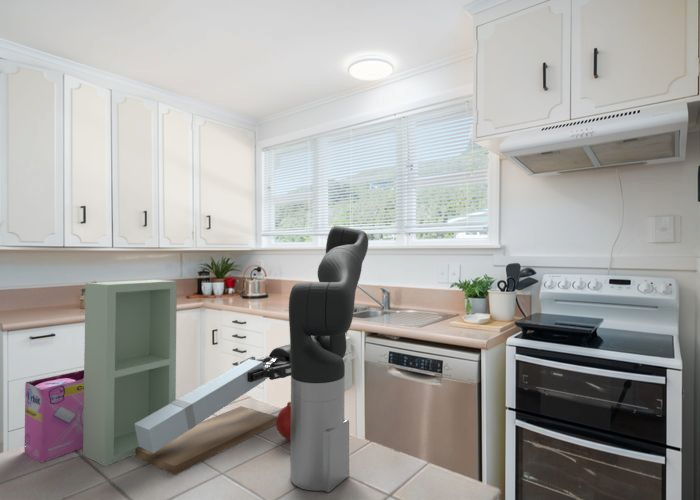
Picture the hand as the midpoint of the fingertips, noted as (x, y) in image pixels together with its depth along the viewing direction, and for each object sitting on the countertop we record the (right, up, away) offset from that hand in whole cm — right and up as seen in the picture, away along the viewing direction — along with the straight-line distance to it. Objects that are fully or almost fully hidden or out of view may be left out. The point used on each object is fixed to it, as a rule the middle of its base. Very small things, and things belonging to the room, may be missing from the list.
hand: (240, 375), depth 91 cm
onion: (+12, -11, -7) cm, 18 cm away
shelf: (-19, -11, -10) cm, 24 cm away
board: (-4, -11, -6) cm, 13 cm away
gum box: (-29, -11, -5) cm, 32 cm away
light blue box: (-4, -5, -7) cm, 10 cm away
